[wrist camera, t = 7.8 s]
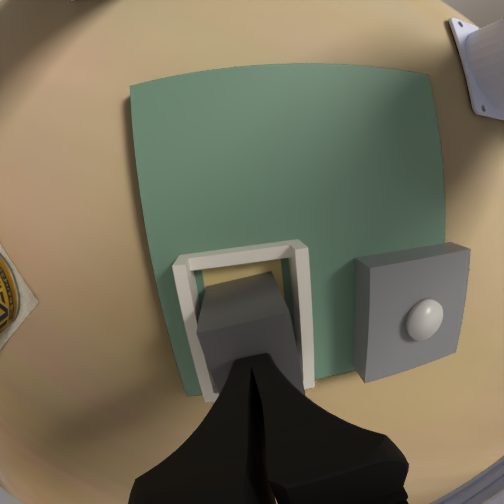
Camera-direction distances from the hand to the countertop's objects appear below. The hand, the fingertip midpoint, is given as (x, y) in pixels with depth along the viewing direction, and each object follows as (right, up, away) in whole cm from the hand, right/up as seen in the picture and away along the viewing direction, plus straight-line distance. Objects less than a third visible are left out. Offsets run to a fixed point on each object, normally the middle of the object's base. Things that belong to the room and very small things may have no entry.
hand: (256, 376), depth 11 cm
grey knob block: (+9, +2, +7) cm, 11 cm away
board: (+3, +6, +5) cm, 8 cm away
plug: (0, +1, +5) cm, 5 cm away
